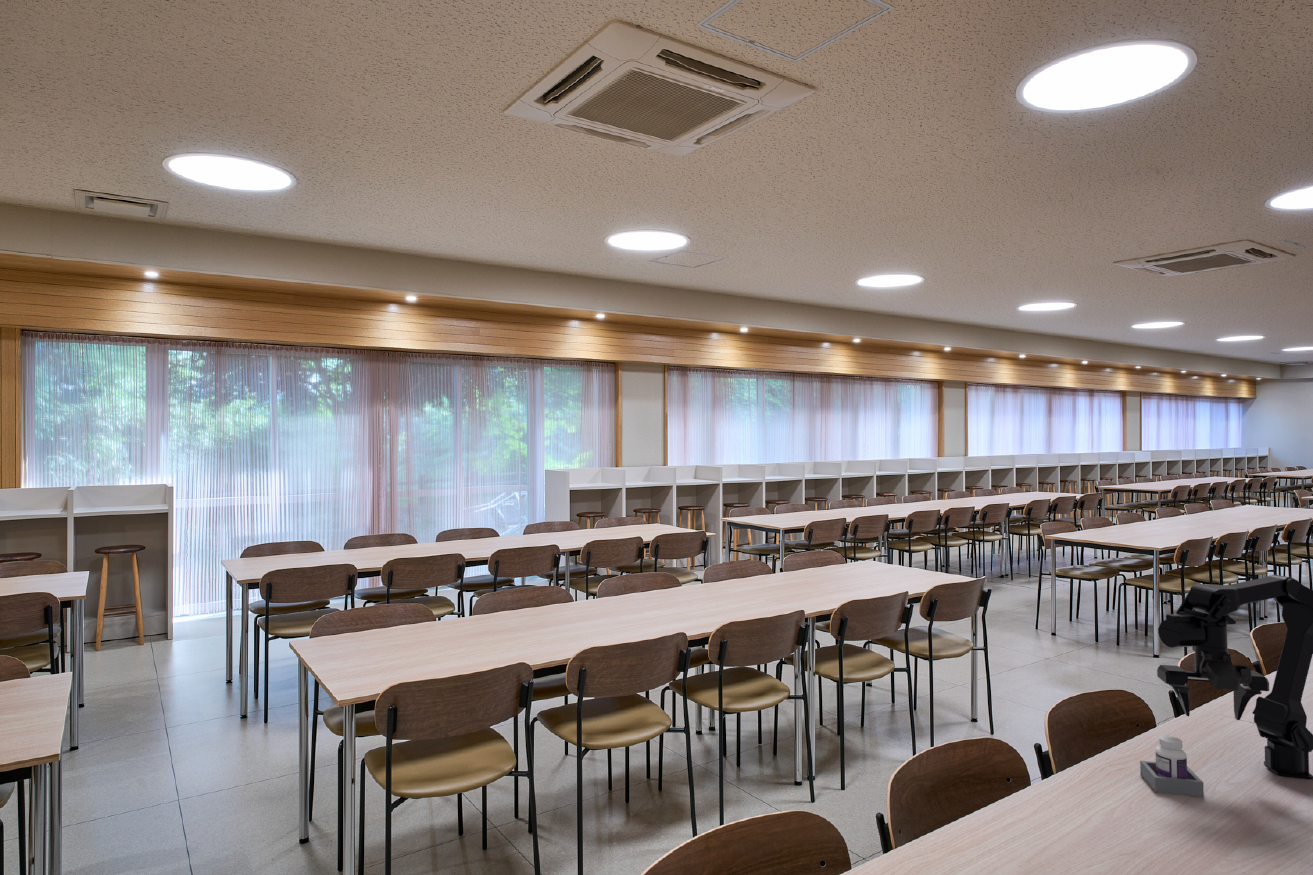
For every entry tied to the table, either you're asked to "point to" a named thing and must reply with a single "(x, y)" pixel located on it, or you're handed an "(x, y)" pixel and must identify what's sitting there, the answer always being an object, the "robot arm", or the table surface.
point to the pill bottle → (1171, 758)
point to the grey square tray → (1172, 781)
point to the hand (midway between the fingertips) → (1212, 717)
